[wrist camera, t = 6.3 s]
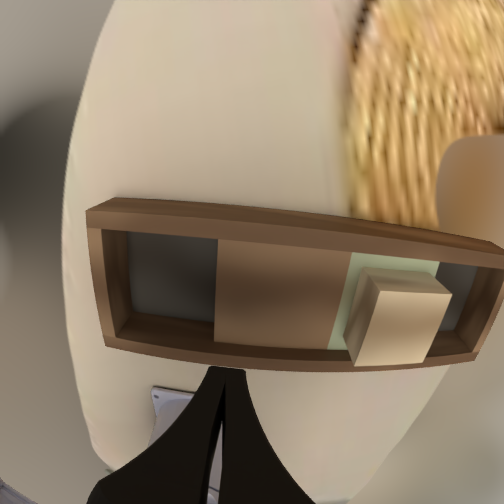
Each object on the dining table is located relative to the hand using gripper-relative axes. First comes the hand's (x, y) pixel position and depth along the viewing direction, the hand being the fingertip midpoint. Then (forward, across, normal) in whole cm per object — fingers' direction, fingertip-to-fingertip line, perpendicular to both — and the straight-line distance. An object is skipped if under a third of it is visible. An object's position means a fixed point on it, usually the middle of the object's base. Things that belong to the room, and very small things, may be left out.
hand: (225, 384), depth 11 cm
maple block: (+7, -10, 0) cm, 12 cm away
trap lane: (+9, -6, 0) cm, 11 cm away
